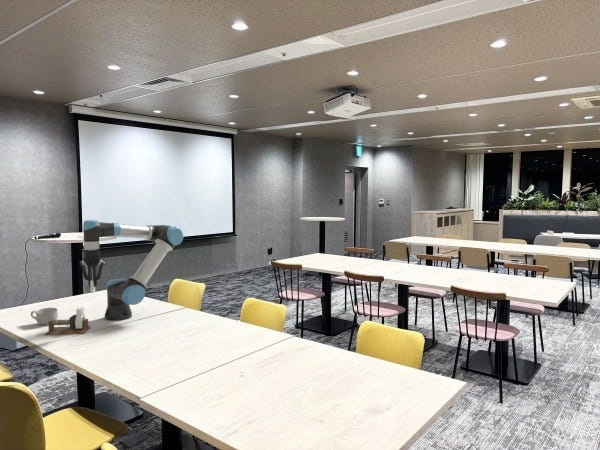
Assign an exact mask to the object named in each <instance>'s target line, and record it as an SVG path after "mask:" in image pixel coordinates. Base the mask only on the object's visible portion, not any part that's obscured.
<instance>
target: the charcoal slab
mask: <svg viewBox="0 0 600 450" xmlns="http://www.w3.org/2000/svg"><path fill="white" fill-rule="evenodd" d="M76 317H77V314H73V315H72V316H70V317H69V320H70V325H69V326H70V330H73V329H74V328H75V327H76V325H74V319H76Z"/></svg>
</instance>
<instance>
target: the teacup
mask: <svg viewBox="0 0 600 450" xmlns="http://www.w3.org/2000/svg"><path fill="white" fill-rule="evenodd" d="M58 310H59V309H58V308H57V307H43V308H40V309H37V310H32V311H31V312H30V317H31V318H32V319H33V320H35V321H36V323H37V324H39V325H41V326H49V325H48V322H49V321H50V320H58V315H59V314H58ZM34 314H35V315H34Z"/></svg>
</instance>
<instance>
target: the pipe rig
mask: <svg viewBox="0 0 600 450" xmlns="http://www.w3.org/2000/svg"><path fill="white" fill-rule="evenodd" d="M75 320H76V319H74V325H75ZM82 324H83V328H76V327H75V328H74V329H73V330H70V320H69V319H68V318H67V319H57V320H50V321H49V322H48V325H47V326H48V331H46V332H45V333H44V335H45V336H62V335H63V336H64V335H84V334H85V333H87V332H88V331H89V330H90V329H91V328H92V325H89V318H85V319H82Z"/></svg>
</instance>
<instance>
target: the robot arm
mask: <svg viewBox="0 0 600 450" xmlns="http://www.w3.org/2000/svg"><path fill="white" fill-rule="evenodd" d="M82 230H83V232H82V233H83V249H84V250H83V259H82V260H81V261H80V262H78V265H79V266H80V268H81V272H82V274H83V275H82V276H83V278H84V280H85V281H88V288H89V287H90V288H89V289H90V294H95V293H96V287H97V285H98V280H100V279H101V277H102V273H103V269H104V266H105V264H106V261H103V260H102V258H101V257H100V255H101V253H100V252H101V251H100V250H101V249H100V238H109V237H111V238H112V237H114V238H115V237H119V238H131V239H132V238H133V239H144V240H145V241H148V242H149V241H150V242H153V243H154V242H155V245H154V246H153V247H152V249H151V251H149V253H148V255H147V256H146V258H145V259H144V260H143V262H142V263H141V265H140V266H139V267H138V269H137V270H136V272H135V273H134V274H133V276H128V278H127V277H126V278H117V279H115V278H114V279H110V280H108V281H107V282H106V297H107V298H106V301H107V305H106V306H107V307H106V309H105V312H104V320H106V321H111V322H112V321H115V322H116V321H124V320H128V319H130V318H132V317H133V312H132V309H131V305H132V306H135V305H138V304H140V303H141V302H143V300H144V299H145V297H146V289H147V283H148V282H149V280H150V279H151V277H152V276H153V274H154V273H155V271H156V270H157V269H158V267H159V265H161V263H162V261H163V260H164V258H165V257H166V255H167V253H169V252H170V251H172V250H174V248H175V247H176V246H179V245H181V243H182V242H183V240H184V232H183V231H182V229H181V228H180V227H179V226H175V225H166V224H164V225H163V224H159V225H151V224H149V225H146V226H145V225H143V226H142V225H133V224H121V223H119V222H101V221H99V220H98V219H88V220H84V221H83V225H82ZM98 265H99V267H98ZM86 266H87V267H86Z"/></svg>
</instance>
